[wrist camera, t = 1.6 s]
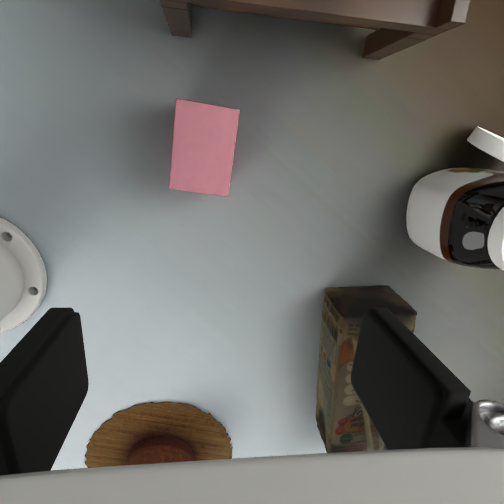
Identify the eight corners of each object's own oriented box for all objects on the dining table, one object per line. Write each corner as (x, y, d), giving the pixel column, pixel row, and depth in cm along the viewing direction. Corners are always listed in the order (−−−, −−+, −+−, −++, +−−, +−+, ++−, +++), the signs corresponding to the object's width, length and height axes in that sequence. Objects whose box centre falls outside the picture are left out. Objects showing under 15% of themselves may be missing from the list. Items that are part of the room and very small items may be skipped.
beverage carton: (310, 418, 43) (328, 466, 37) (319, 284, 36) (343, 315, 30) (369, 411, 44) (395, 457, 37) (388, 279, 37) (424, 309, 31)
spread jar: (392, 244, 36) (474, 293, 25) (398, 134, 32) (498, 135, 21) (494, 229, 37) (616, 270, 26) (512, 121, 33) (665, 115, 22)
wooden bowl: (160, 374, 37) (150, 426, 31) (259, 449, 43) (269, 506, 37) (53, 463, 40) (23, 529, 33) (162, 523, 46) (154, 588, 39)
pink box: (175, 179, 30) (168, 188, 25) (181, 104, 28) (175, 98, 23) (224, 186, 31) (228, 196, 26) (234, 114, 29) (240, 109, 24)
